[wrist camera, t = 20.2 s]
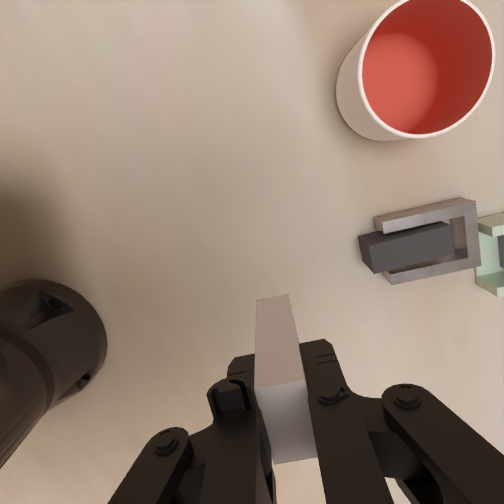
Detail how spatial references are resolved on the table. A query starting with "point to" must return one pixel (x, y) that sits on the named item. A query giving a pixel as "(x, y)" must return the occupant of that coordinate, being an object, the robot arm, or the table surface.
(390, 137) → the cup
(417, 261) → the charcoal brick
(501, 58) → the table surface
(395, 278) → the clip
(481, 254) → the end holder
